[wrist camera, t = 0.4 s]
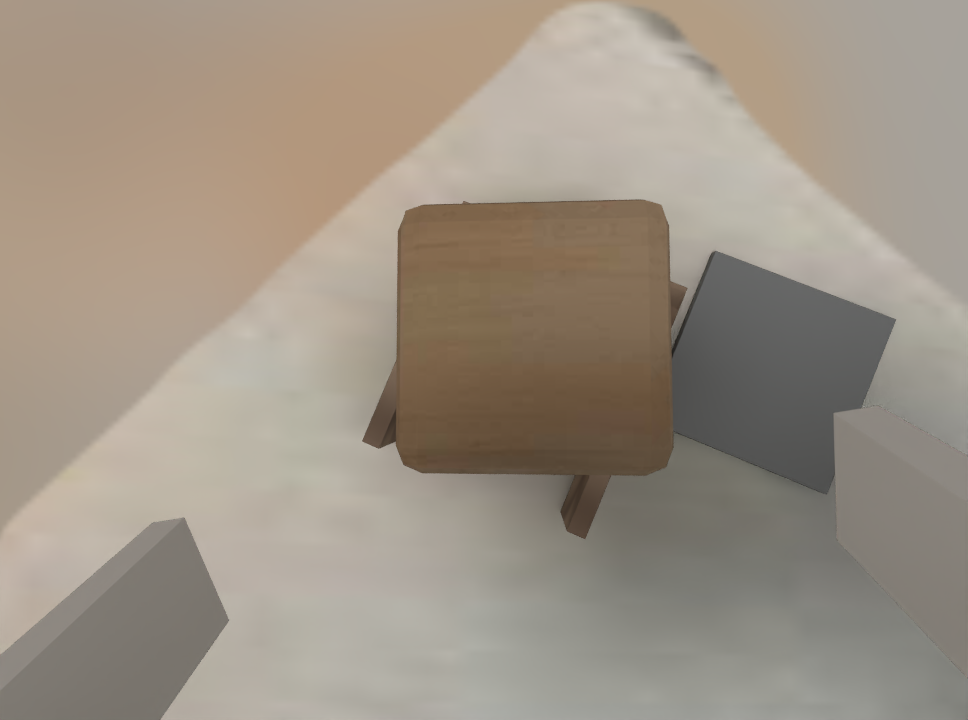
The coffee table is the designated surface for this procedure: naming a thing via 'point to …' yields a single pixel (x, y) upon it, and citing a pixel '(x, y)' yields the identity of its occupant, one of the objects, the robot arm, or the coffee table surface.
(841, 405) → the pad
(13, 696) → the robot arm
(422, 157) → the coffee table surface
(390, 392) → the wooden u-shaped frame
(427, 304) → the wooden block
